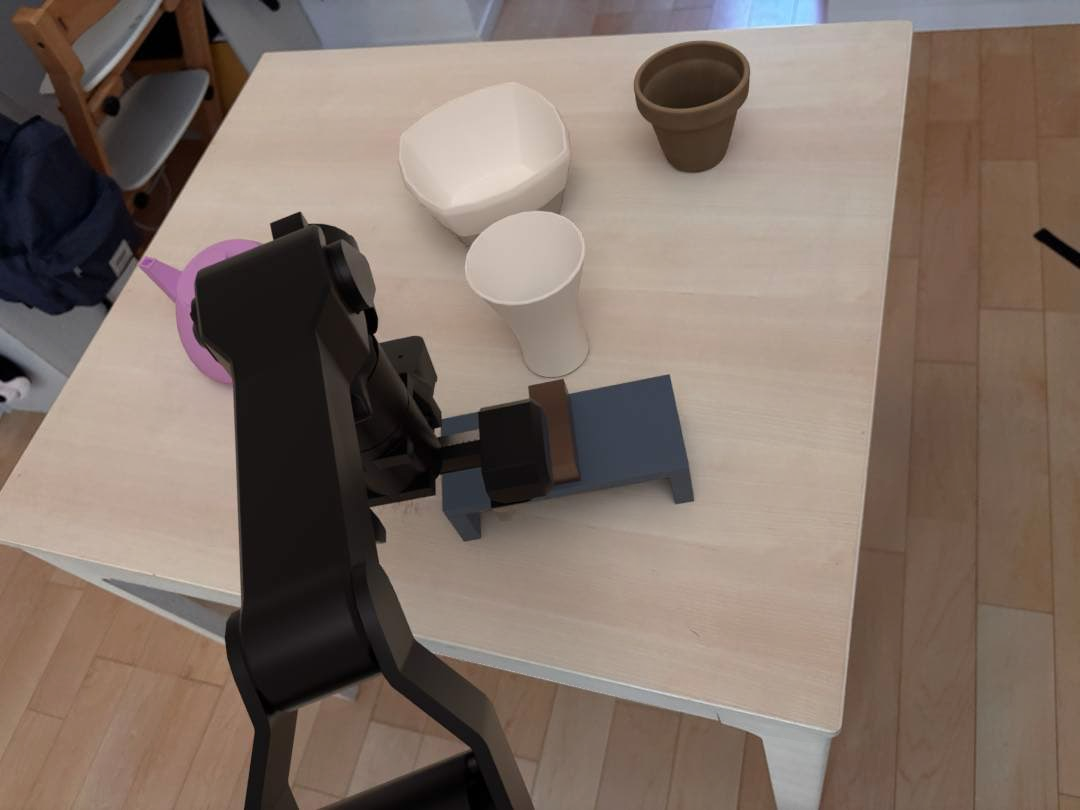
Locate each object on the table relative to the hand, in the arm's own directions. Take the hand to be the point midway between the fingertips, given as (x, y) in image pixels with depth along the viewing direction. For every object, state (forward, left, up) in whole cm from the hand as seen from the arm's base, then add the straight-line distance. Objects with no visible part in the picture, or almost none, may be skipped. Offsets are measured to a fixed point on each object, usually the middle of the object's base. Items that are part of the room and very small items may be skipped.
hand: (444, 526), depth 62 cm
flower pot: (+46, -26, -12) cm, 54 cm away
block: (+9, -8, -6) cm, 13 cm away
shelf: (+9, -8, -12) cm, 17 cm away
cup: (+23, -8, -12) cm, 27 cm away
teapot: (+33, +23, -12) cm, 42 cm away
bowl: (+44, -4, -12) cm, 46 cm away
